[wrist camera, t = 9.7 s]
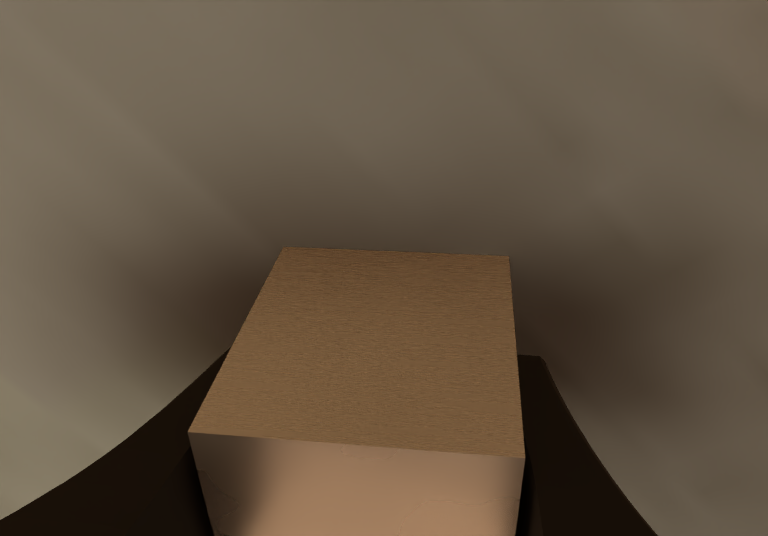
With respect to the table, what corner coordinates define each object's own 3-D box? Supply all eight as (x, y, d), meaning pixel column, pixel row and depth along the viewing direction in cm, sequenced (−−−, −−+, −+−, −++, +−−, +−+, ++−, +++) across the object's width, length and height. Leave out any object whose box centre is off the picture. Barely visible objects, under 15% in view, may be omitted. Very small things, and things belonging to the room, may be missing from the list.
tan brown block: (508, 255, 12) (525, 458, 8) (493, 424, 15) (500, 650, 10) (283, 246, 13) (187, 431, 9) (303, 410, 15) (235, 621, 11)
